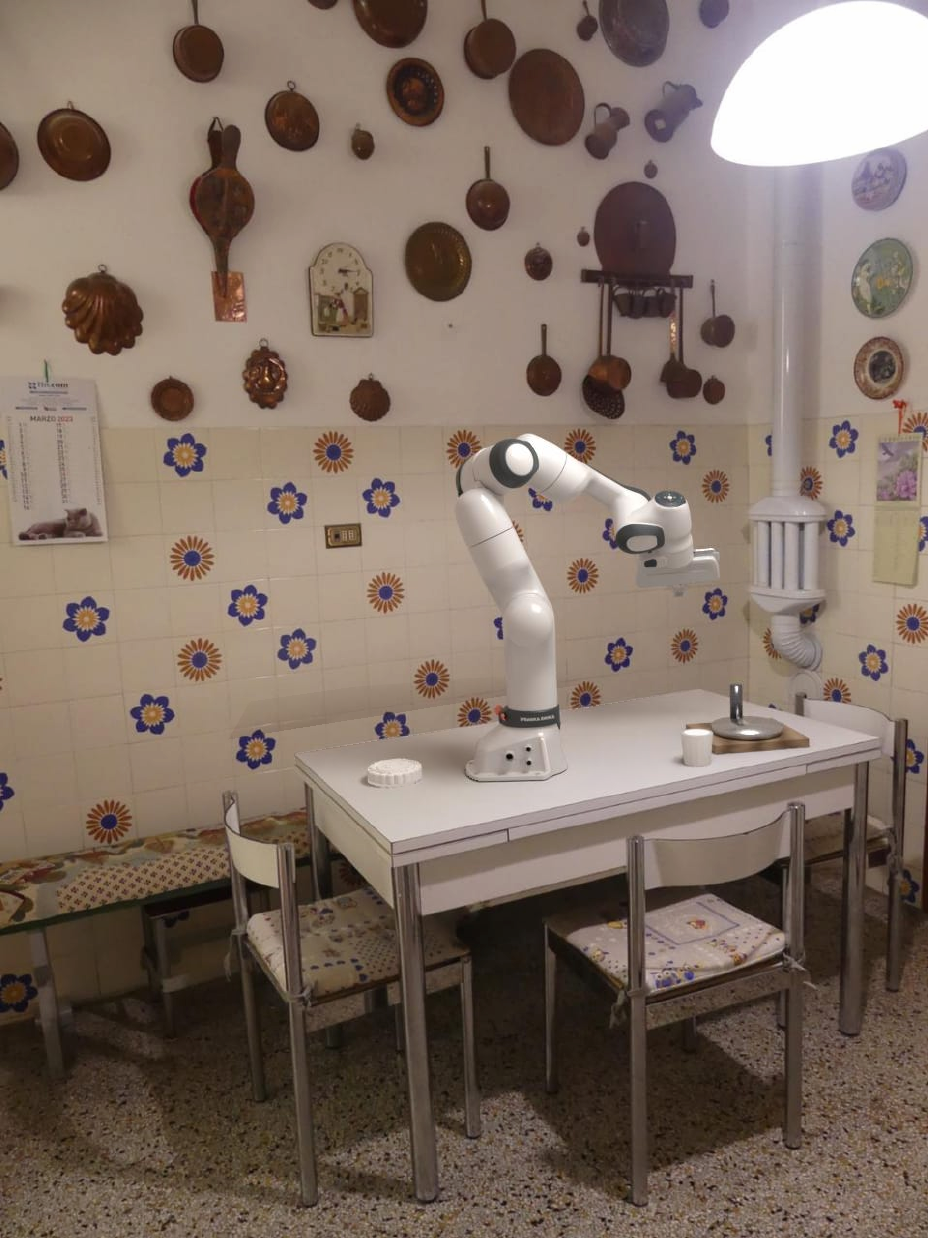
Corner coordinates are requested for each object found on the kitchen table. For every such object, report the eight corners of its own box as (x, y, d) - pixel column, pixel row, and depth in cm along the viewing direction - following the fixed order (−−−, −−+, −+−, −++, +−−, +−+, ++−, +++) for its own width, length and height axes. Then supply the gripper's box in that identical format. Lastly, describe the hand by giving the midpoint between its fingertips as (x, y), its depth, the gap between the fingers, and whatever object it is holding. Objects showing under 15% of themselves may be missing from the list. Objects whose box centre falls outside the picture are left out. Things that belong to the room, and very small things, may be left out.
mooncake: (383, 770, 215) (382, 755, 214) (431, 774, 210) (430, 758, 209) (357, 787, 204) (356, 770, 203) (407, 791, 199) (406, 774, 199)
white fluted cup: (714, 768, 203) (714, 736, 202) (681, 767, 205) (681, 736, 204) (712, 758, 210) (712, 728, 209) (681, 758, 211) (680, 728, 210)
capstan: (794, 737, 215) (793, 696, 213) (724, 741, 214) (724, 700, 213) (766, 719, 231) (766, 681, 230) (702, 724, 230) (701, 685, 229)
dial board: (715, 754, 213) (715, 744, 212) (685, 732, 232) (685, 723, 232) (809, 747, 215) (809, 737, 214) (772, 725, 234) (772, 716, 234)
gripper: (718, 539, 227) (721, 583, 236) (632, 547, 232) (638, 590, 241) (720, 555, 222) (723, 600, 231) (632, 563, 227) (638, 606, 236)
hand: (679, 595), depth 236 cm, fingers closed
